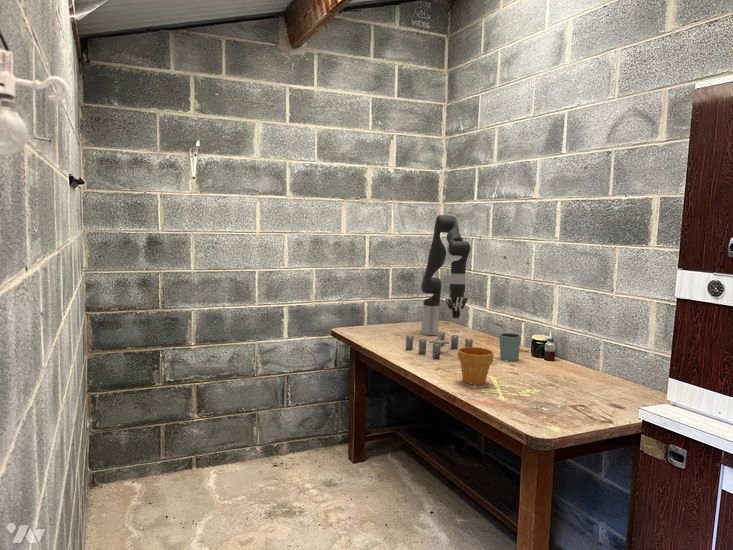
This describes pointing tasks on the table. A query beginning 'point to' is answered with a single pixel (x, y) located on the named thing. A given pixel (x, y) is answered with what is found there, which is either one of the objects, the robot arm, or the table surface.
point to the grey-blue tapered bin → (509, 346)
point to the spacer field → (436, 345)
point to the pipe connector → (439, 340)
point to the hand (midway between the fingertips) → (455, 317)
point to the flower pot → (475, 364)
